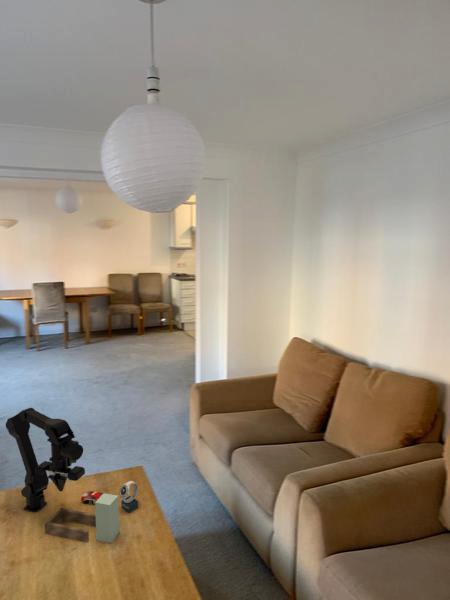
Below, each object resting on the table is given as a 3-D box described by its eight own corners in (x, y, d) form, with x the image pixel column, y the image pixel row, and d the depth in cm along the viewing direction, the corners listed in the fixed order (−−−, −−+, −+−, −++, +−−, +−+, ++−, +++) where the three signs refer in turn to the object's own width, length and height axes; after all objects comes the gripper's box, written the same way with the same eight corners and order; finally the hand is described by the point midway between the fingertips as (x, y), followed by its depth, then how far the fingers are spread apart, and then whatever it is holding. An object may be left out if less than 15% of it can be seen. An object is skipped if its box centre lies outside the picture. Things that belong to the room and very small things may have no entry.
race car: (114, 500, 182) (114, 491, 182) (108, 508, 177) (107, 499, 176) (86, 496, 185) (86, 487, 185) (79, 503, 180) (79, 494, 179)
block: (96, 540, 157) (95, 502, 155) (105, 529, 163) (103, 493, 161) (110, 543, 156) (109, 505, 154) (119, 532, 161) (118, 495, 160)
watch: (117, 509, 176) (116, 484, 174) (133, 500, 182) (132, 476, 180) (125, 515, 172) (125, 489, 171) (141, 506, 178) (141, 481, 177)
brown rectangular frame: (45, 533, 161) (44, 523, 160) (61, 517, 171) (61, 507, 170) (87, 542, 156) (86, 532, 156) (101, 525, 166) (101, 515, 165)
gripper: (92, 447, 171) (93, 483, 173) (52, 441, 176) (54, 476, 178) (75, 460, 160) (77, 499, 162) (33, 453, 165) (35, 491, 167)
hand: (61, 490), depth 168 cm, fingers closed
